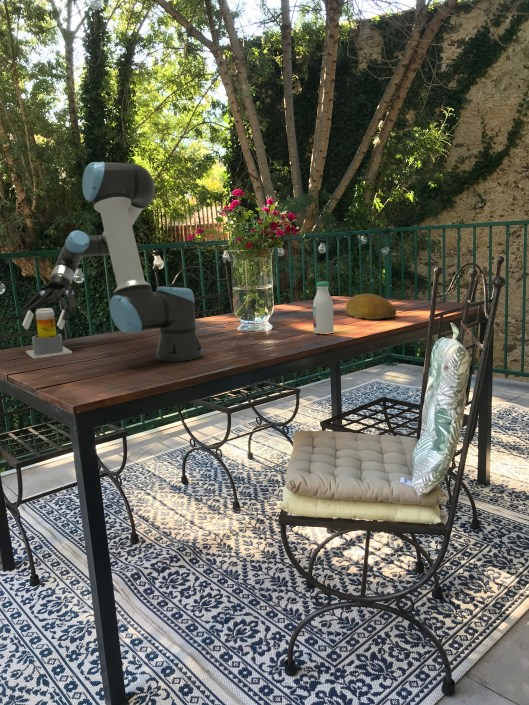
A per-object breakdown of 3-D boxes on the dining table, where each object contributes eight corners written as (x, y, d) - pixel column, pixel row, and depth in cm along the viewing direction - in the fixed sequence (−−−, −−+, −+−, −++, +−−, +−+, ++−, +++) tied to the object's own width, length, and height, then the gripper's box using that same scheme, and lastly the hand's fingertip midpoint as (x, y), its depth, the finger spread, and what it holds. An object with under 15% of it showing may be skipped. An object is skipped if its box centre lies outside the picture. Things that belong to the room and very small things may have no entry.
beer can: (51, 352, 204) (47, 310, 201) (36, 352, 205) (31, 310, 202) (61, 349, 210) (57, 307, 207) (46, 348, 211) (41, 307, 208)
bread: (371, 310, 285) (371, 289, 283) (403, 319, 251) (404, 296, 249) (336, 312, 281) (335, 292, 279) (364, 322, 248) (364, 299, 246)
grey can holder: (71, 353, 206) (70, 335, 204) (33, 358, 199) (31, 340, 197) (62, 348, 216) (60, 331, 215) (26, 352, 210) (23, 335, 208)
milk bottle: (336, 332, 225) (336, 281, 221) (328, 335, 219) (327, 282, 215) (319, 331, 229) (318, 280, 225) (310, 334, 223) (308, 282, 219)
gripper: (95, 286, 215) (79, 333, 204) (35, 287, 221) (16, 333, 209) (87, 273, 209) (69, 320, 198) (25, 274, 214) (5, 321, 203)
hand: (42, 327), depth 204 cm, fingers open, 13 cm apart
